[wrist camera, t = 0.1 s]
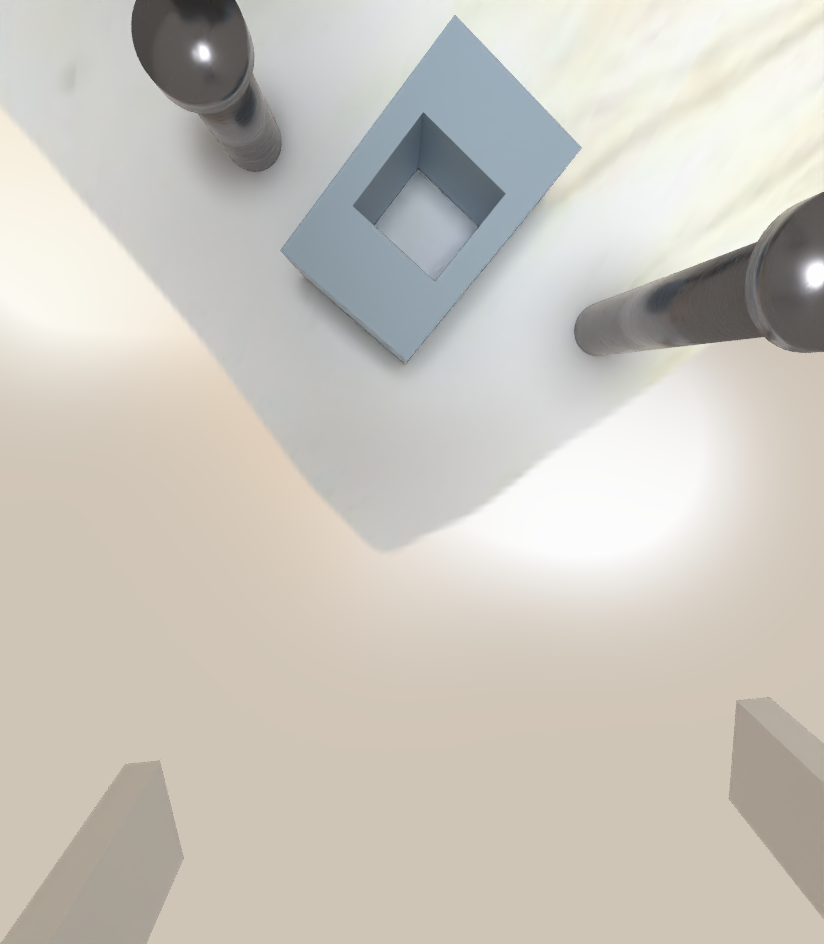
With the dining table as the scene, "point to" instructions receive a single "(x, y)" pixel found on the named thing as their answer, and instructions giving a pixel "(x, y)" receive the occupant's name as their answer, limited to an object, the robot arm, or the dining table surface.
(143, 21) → the short pin
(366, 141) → the guide block
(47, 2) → the dining table surface
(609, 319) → the tall pin
